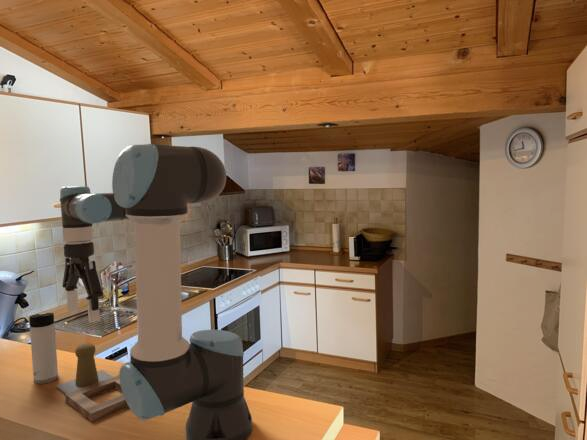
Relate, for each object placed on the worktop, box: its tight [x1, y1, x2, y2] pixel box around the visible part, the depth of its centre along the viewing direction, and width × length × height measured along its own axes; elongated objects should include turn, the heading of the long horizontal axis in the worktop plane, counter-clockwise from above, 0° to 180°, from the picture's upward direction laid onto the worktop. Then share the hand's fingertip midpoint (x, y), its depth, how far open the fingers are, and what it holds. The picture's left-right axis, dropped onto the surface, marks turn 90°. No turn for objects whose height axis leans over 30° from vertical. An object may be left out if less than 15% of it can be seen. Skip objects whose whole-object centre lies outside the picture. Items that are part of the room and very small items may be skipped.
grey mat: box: [56, 369, 114, 395], centre depth 125 cm, size 9×13×1 cm
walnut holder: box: [64, 374, 129, 422], centre depth 116 cm, size 15×15×2 cm
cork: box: [75, 342, 99, 387], centre depth 124 cm, size 6×6×11 cm
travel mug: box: [28, 312, 59, 385], centre depth 127 cm, size 6×7×20 cm
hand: (83, 317), depth 123 cm, fingers open, 13 cm apart
